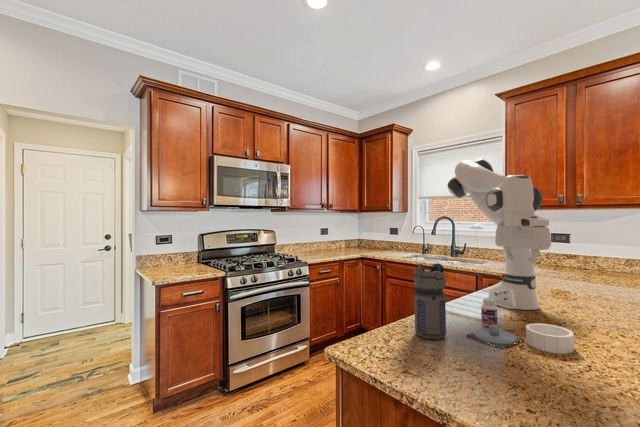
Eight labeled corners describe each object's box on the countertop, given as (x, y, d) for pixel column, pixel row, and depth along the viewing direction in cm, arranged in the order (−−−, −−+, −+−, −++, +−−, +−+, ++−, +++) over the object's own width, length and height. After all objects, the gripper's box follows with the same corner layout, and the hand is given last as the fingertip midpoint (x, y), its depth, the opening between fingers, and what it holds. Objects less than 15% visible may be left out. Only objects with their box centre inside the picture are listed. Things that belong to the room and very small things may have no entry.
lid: (465, 334, 107) (465, 323, 107) (488, 328, 113) (488, 317, 113) (501, 347, 96) (501, 335, 96) (525, 339, 102) (524, 327, 102)
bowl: (518, 343, 101) (517, 327, 101) (539, 336, 106) (538, 321, 106) (561, 357, 90) (560, 339, 90) (581, 348, 96) (581, 332, 96)
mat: (466, 336, 107) (466, 334, 107) (488, 330, 113) (488, 328, 113) (501, 349, 96) (501, 347, 96) (523, 341, 102) (523, 339, 102)
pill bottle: (479, 325, 118) (479, 299, 118) (483, 322, 121) (483, 296, 122) (495, 328, 114) (495, 302, 114) (499, 325, 118) (498, 299, 118)
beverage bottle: (456, 334, 109) (454, 262, 109) (433, 344, 101) (431, 266, 101) (430, 326, 117) (429, 259, 117) (407, 335, 109) (406, 263, 110)
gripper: (490, 221, 118) (491, 258, 117) (536, 220, 98) (538, 265, 97) (504, 221, 119) (506, 257, 119) (553, 220, 99) (555, 264, 98)
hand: (521, 261), depth 108 cm, fingers open, 8 cm apart
